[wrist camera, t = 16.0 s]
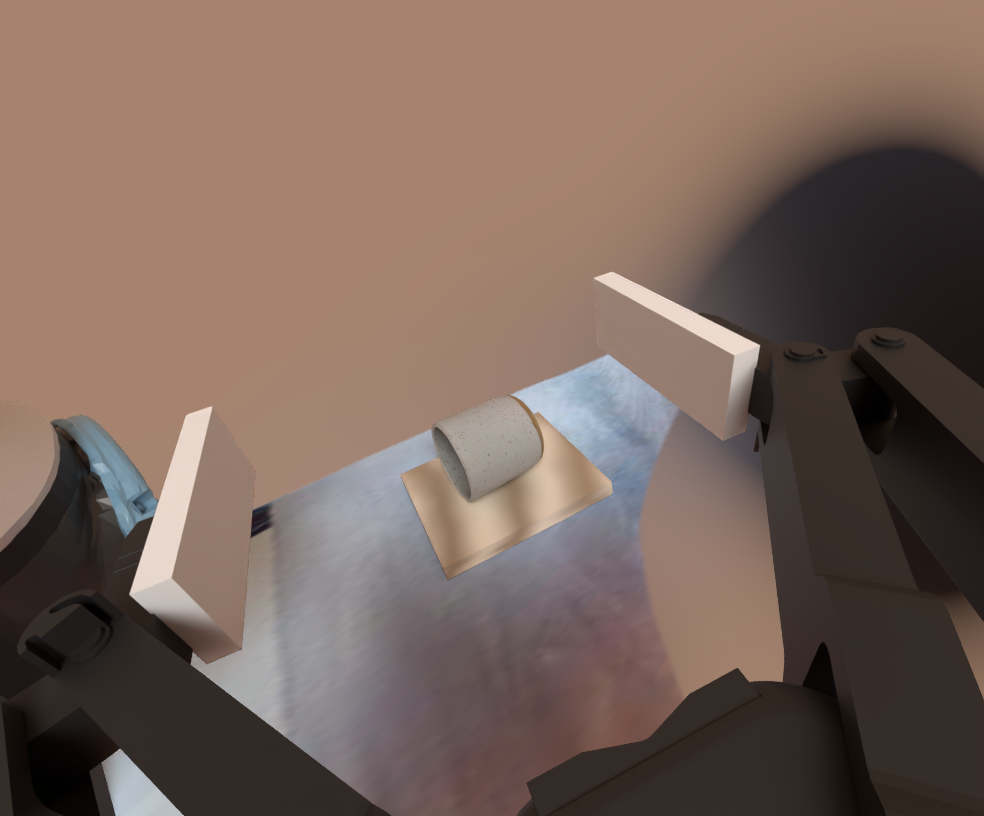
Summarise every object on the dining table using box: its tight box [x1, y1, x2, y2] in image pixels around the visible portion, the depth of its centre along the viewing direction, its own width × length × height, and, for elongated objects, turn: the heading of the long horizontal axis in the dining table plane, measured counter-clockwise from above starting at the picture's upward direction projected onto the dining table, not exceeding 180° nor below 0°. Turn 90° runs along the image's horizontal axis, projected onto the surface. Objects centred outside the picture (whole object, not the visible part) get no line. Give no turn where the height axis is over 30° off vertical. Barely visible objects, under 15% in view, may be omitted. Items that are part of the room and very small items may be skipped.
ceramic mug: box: [432, 395, 544, 502], centre depth 44 cm, size 11×8×8 cm
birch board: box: [401, 412, 613, 580], centre depth 45 cm, size 16×13×2 cm
